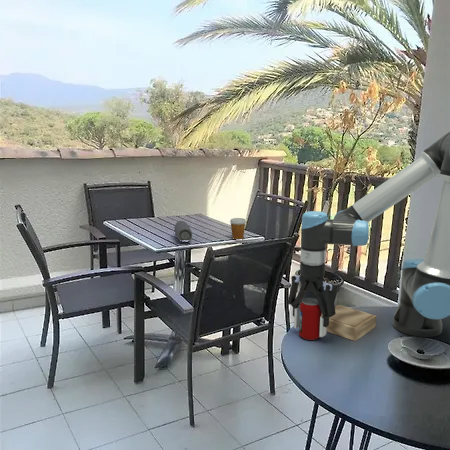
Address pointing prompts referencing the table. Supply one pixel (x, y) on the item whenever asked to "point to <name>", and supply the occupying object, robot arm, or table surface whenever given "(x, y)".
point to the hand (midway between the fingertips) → (309, 331)
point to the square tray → (350, 323)
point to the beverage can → (309, 319)
